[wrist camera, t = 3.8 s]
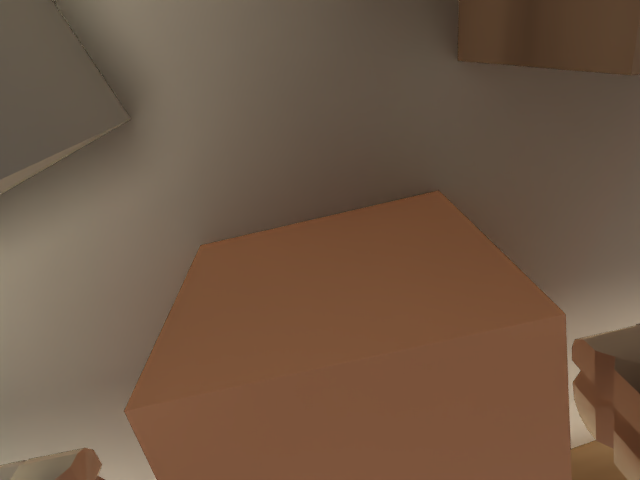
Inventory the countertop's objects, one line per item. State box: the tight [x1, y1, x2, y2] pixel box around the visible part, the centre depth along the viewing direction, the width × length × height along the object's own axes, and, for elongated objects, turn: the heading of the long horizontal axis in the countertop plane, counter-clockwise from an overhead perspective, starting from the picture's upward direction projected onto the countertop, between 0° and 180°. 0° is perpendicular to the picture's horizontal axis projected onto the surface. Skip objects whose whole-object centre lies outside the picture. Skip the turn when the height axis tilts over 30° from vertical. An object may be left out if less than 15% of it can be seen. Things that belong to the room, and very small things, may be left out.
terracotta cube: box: [124, 190, 572, 480], centre depth 9 cm, size 5×5×5 cm
